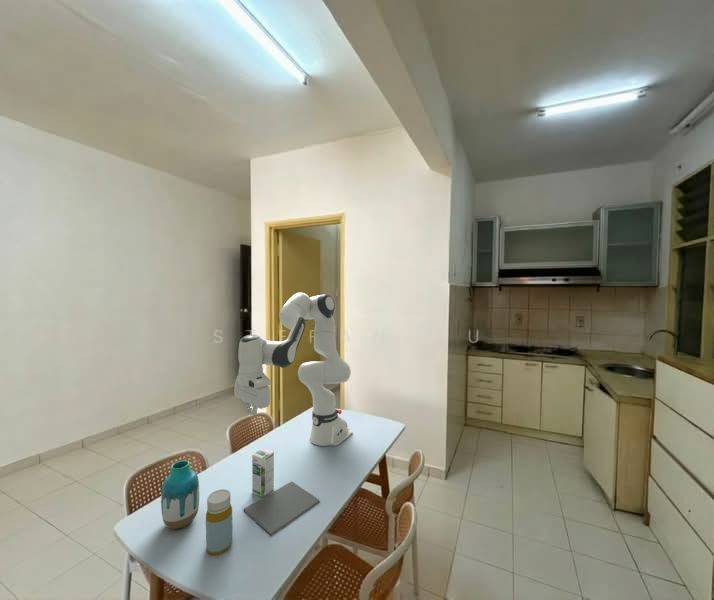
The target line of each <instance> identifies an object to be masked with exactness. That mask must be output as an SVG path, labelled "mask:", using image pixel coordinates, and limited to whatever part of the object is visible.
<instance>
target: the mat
mask: <svg viewBox="0 0 714 600" xmlns="http://www.w3.org/2000/svg"><path fill="white" fill-rule="evenodd" d="M320 502H321V501H320V499H319V498H317V497H316V496H314V495H312V494H311V493H310V492H309V491H307V490H305V488H302V487H301V486H300V485H298V484H297V483H295V482H293V481H290V482H288V483H286V484H285V485H283V486H281V487H279V488H278V489H276V490H274V491H271V492H270V493H268V494H267V495H266V496H265V497H261V498H259V500H257V501H255V502H253V503H251V504H250V505H248V506H246V507H244V508H243V512H245V513H246V514H247V515H248V516H249V517H250V518H251V519H252V520H253V521H255V523H256V524H257V525H258V526H260V527H261V528H262V529H263V530H264V531H265V532H266V533H267V535H269V536H273V535H274V534H275V533H276V532H279V530H281V529H283V528H285V526H287V525H289V524H290V523H292V521H294V520H296V519H297V518H299V517H300V516H301V515H303V514H304V513H306V512H307V511H309V510H310V509H312V508H313V507H314V506H316V505H317V504H319V503H320Z"/></svg>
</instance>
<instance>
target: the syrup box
mask: <svg viewBox="0 0 714 600" xmlns="http://www.w3.org/2000/svg"><path fill="white" fill-rule="evenodd" d="M251 457H252V460H251V461H252V463H251V464H252V465H251V469H252V470H251V472H252V473H251V474H252V475H251V478H252V479H251V482H252V485H251V487H252V488H251V489H252V490H251V493H252V494H254V495H256V496H259V497H261V498H264V497H265V496H267V495H269V494H270V493H272V492H273V490H274V489H275V488H274V487H275V485H274V484H275V475H274V474H275V464H274V463H275V452H274V451H271V450H269V449H266V448H261V449H259V450H257V451H256V452H253V454H252V456H251Z"/></svg>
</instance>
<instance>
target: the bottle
mask: <svg viewBox="0 0 714 600" xmlns="http://www.w3.org/2000/svg"><path fill="white" fill-rule="evenodd" d="M231 500H232V499H231V492H230V490H228V489H223V488H221V489H218V490H215V491H213V492H211V493H210V494H209V495H208V496H207V500H206V503H207V505H206V506H207V507H206V509H207V510H206V513H205V538H206V539H205V541H206V542H205V544H206V545H205V547H206V551H207V552H208V553H209V554H210V555H212V556H213V555H220V554H223V553H224V552H226V551H227V550H228V549H229V548H230V547H231V546H232V544H233V540H234V539H233V506H232V504H231Z"/></svg>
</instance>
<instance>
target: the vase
mask: <svg viewBox="0 0 714 600" xmlns="http://www.w3.org/2000/svg"><path fill="white" fill-rule="evenodd" d="M169 471H170V472H169V475H168V476H167V477H166V478H165V479H164V481H163V482H162V485H161V495H160V503H161V504H160V505H161V509H160V510H161V516H162V517H161V518H162V521H163V524H164V526H166V527H167V528H169V529H172V530H174V529H175V530H177V529H181V528H184V527H186V526H187V525H189V524H190V523H191V522H193V521H194V519H195V518H196V516H197V514H198V512H199V507H200V482H199V476H198V474H197V472H196V471H195V470H192V469H191V464H190V461H189V460H186V459H182V460H179V461H175V462H174V463H172V464H171V465H170V470H169Z"/></svg>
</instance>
